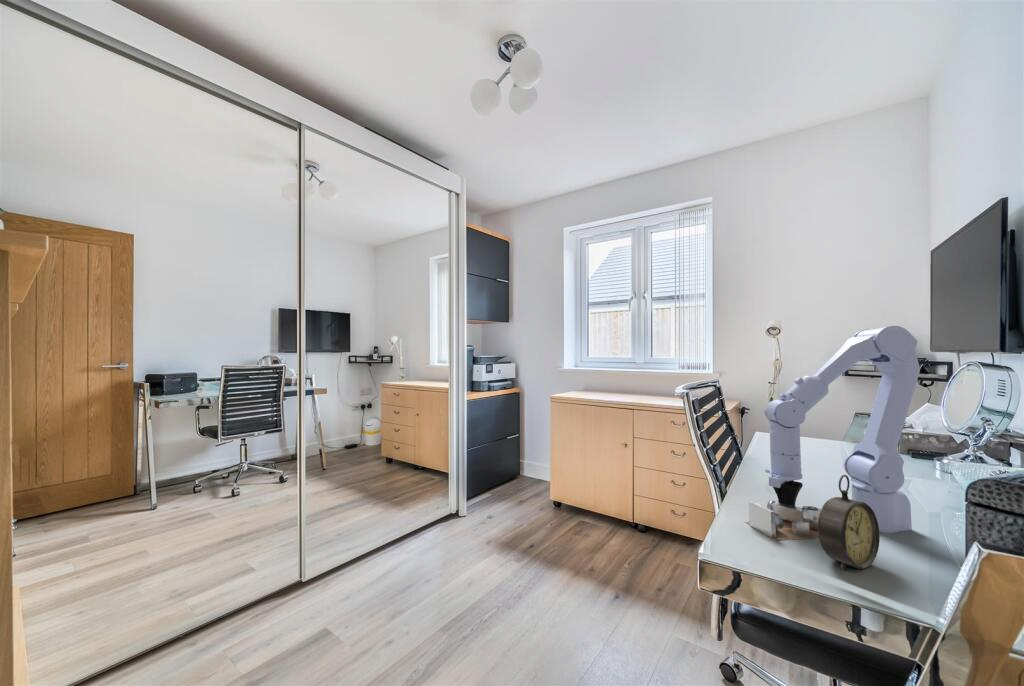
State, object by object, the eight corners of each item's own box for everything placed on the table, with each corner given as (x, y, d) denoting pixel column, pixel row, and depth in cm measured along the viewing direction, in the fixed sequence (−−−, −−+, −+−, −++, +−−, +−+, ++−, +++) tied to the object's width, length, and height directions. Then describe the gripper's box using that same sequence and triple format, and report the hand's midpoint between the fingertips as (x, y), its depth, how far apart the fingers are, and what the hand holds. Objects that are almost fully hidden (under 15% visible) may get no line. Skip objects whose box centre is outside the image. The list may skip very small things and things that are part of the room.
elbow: (826, 527, 83) (825, 508, 83) (820, 531, 80) (819, 512, 81) (773, 512, 91) (773, 495, 91) (766, 516, 89) (766, 498, 89)
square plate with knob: (786, 522, 85) (786, 499, 86) (811, 534, 80) (810, 509, 80) (749, 524, 84) (748, 501, 85) (771, 537, 78) (770, 511, 79)
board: (813, 522, 88) (813, 518, 88) (853, 540, 79) (852, 535, 79) (744, 526, 86) (744, 521, 86) (777, 545, 77) (777, 540, 77)
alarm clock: (848, 582, 64) (844, 482, 65) (811, 567, 69) (808, 474, 70) (883, 569, 68) (879, 475, 69) (847, 555, 73) (843, 467, 74)
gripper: (776, 445, 97) (778, 501, 96) (752, 454, 88) (754, 515, 87) (811, 451, 91) (813, 510, 90) (789, 460, 82) (791, 526, 82)
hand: (787, 513), depth 88 cm, fingers closed, pressing on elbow
